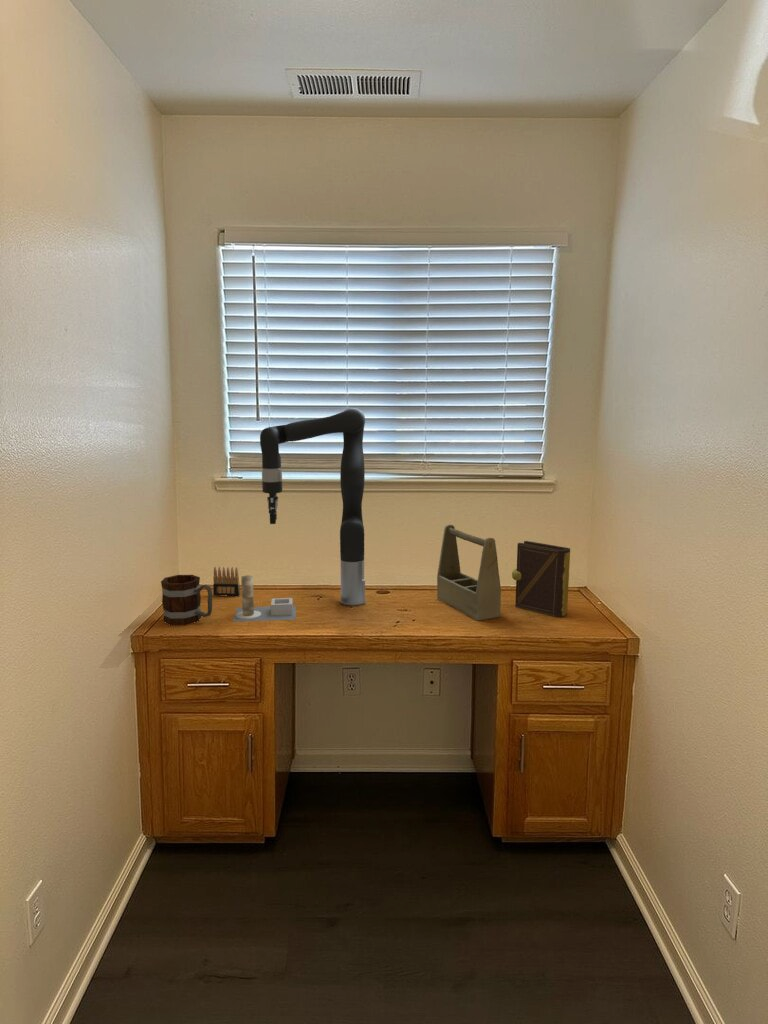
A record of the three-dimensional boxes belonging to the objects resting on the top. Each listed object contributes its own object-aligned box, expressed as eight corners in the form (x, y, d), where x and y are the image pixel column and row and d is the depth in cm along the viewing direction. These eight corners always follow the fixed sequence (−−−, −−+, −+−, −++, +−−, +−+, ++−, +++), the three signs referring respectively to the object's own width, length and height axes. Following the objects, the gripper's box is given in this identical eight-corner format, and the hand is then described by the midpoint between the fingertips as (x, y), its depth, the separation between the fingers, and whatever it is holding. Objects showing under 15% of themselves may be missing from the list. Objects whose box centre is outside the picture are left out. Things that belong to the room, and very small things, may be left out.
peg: (254, 612, 241) (253, 575, 239) (253, 615, 237) (252, 578, 235) (243, 612, 241) (241, 575, 238) (242, 616, 237) (240, 578, 234)
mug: (154, 623, 235) (152, 582, 232) (178, 611, 247) (176, 573, 245) (201, 629, 228) (199, 588, 226) (223, 617, 241) (222, 578, 238)
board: (296, 609, 250) (295, 595, 249) (295, 623, 235) (295, 608, 234) (237, 611, 248) (236, 597, 247) (232, 625, 232) (232, 610, 231)
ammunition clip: (240, 595, 268) (239, 566, 266) (239, 596, 266) (238, 567, 264) (214, 594, 269) (213, 566, 267) (213, 596, 267) (211, 567, 265)
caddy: (436, 599, 263) (437, 525, 258) (459, 595, 267) (460, 523, 262) (476, 621, 237) (478, 539, 232) (501, 617, 241) (503, 537, 236)
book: (570, 613, 245) (573, 548, 241) (559, 619, 239) (562, 552, 235) (518, 601, 260) (521, 539, 256) (507, 606, 254) (509, 542, 250)
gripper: (281, 482, 244) (282, 525, 247) (282, 477, 258) (283, 518, 261) (261, 482, 243) (262, 525, 246) (263, 477, 257) (264, 518, 260)
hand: (273, 521), depth 253 cm, fingers open, 8 cm apart
